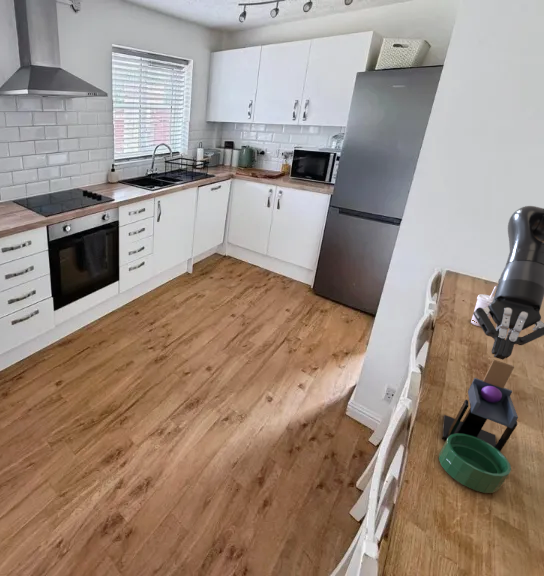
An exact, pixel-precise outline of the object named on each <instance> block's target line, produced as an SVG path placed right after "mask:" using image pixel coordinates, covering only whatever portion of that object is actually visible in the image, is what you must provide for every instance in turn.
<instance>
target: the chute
mask: <svg viewBox="0 0 544 576" xmlns="http://www.w3.org/2000/svg"><path fill="white" fill-rule="evenodd" d="M514 369H515V365H512V364H510V363H506V362H503V361H500V360H497V359H492V361H491V364H490V365H489V367H488V369H487V371H486V373H485V376H484V377H483V379H481V378H480V379H479V378H478V377H474V378H473V380H472V381H471V383H470V386H469V388H468V389H467V390H468V391H467V394H468V403H469V409H470V408H471V413H473V414H475V415H478V416H480V417H483V418H486V419H487V420H489V421H491V422H494V423H495V424H499V425H501V426H503V427H505V428H507V427H509V428H513V426H514V424H515V422H516V421H517V422H518V419H519V416H518V413H517V410H516V408H515V405H514V403H513V402H514V401H513V400H512V397H511V395H512V393H513V389H509V388H506V387H505V386H506V385H507V383H508V380H509V378H510V376H511V375H512V372H513V371H514ZM486 386H493V387H496V388H498V389H499V390H500V391H501V393H502V398H501V400H500V401H498V402H494V403H493V402H488V401H486V400H484V399H483V398H482V396H481V390H482V388H484V387H486Z"/></svg>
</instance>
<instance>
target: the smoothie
mask: <svg viewBox="0 0 544 576" xmlns="http://www.w3.org/2000/svg"><path fill="white" fill-rule="evenodd" d="M497 286H498V285H494V288H493V290H492V292H491V294H490V295H489V294H484V293H483V294H482V293H481V294H478V295H477V297H476V303H475V306H474V310H473V313H474V312H475V311H476V309H477V308H487V307H488V306H489V305H490V304H491V303H492V302H493V299H494V296H495V293H496V289H497ZM473 313H472V317H471V321H470V324H472V325H474V326H477V327H480V328H481V326H480V324H479V323H478V321H477V319H476V318H475V316H474V314H473ZM488 318H489V319H490V320H491V318H492V317H491V315H490V313H489V316H488ZM472 320H474V321H475V322H474V321H472ZM476 322H477V323H476Z"/></svg>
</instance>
